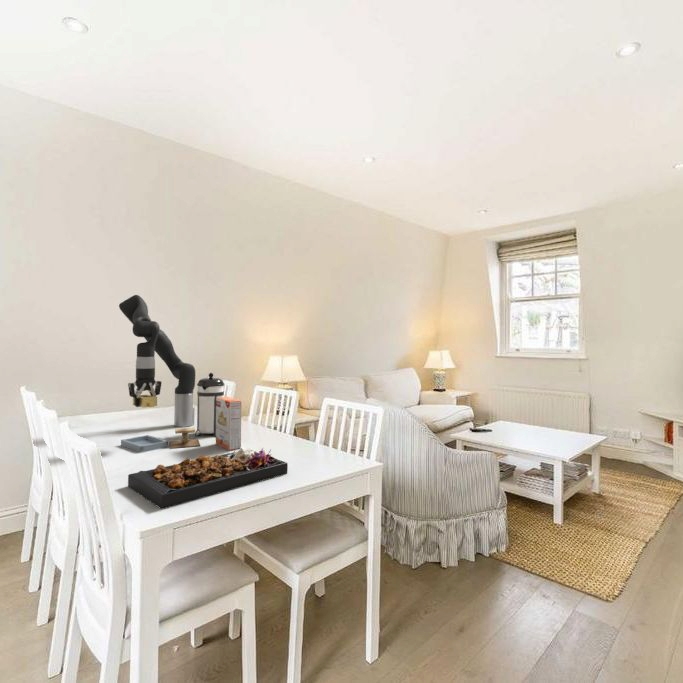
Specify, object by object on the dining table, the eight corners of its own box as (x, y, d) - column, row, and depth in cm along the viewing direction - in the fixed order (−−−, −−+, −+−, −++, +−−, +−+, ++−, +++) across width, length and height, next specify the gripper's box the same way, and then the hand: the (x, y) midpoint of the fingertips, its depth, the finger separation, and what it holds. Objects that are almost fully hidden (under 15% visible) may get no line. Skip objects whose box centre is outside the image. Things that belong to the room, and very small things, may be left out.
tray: (120, 445, 184) (120, 439, 184) (147, 440, 194) (147, 435, 194) (141, 452, 174) (141, 446, 174) (168, 446, 184) (168, 441, 184)
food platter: (247, 460, 168) (248, 434, 168) (287, 475, 151) (287, 446, 151) (128, 488, 136) (128, 456, 135) (161, 511, 119) (162, 474, 118)
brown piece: (197, 439, 196) (198, 425, 196) (200, 446, 185) (200, 431, 185) (169, 442, 192) (170, 427, 192) (170, 448, 181) (170, 433, 181)
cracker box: (214, 444, 190) (215, 397, 190) (227, 442, 194) (228, 396, 193) (228, 450, 179) (228, 401, 179) (241, 448, 183) (242, 400, 183)
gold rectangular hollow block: (132, 405, 184) (132, 395, 184) (146, 403, 189) (146, 394, 189) (145, 407, 178) (145, 398, 178) (158, 406, 183) (159, 396, 183)
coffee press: (232, 435, 207) (233, 373, 207) (199, 439, 198) (200, 374, 198) (220, 428, 222) (221, 370, 221) (189, 431, 213) (190, 371, 212)
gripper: (133, 368, 176) (132, 409, 176) (165, 366, 187) (165, 405, 187) (124, 367, 180) (123, 406, 180) (156, 365, 192) (156, 403, 192)
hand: (144, 405), depth 184 cm, fingers closed on gold rectangular hollow block, 6 cm apart
